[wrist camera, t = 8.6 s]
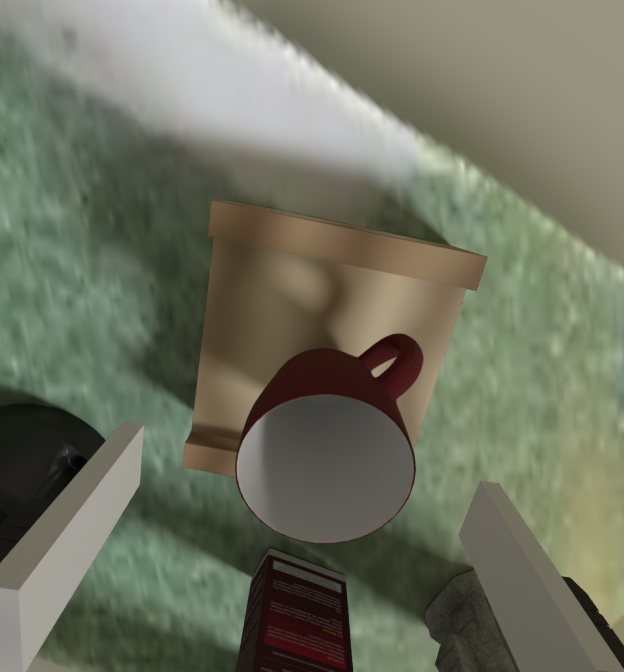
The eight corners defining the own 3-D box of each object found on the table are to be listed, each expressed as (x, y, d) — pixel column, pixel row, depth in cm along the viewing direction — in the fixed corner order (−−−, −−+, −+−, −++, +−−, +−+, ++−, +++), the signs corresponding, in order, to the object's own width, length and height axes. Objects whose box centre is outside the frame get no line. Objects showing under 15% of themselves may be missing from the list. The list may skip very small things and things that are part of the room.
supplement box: (249, 578, 39) (207, 809, 24) (269, 545, 38) (236, 768, 23) (327, 606, 41) (332, 844, 25) (348, 575, 39) (367, 807, 24)
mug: (341, 267, 24) (356, 307, 15) (433, 346, 26) (499, 428, 17) (240, 384, 27) (197, 481, 18) (328, 450, 29) (333, 572, 19)
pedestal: (207, 419, 34) (182, 467, 28) (234, 201, 28) (211, 200, 22) (388, 451, 34) (404, 505, 28) (451, 245, 29) (487, 257, 23)
